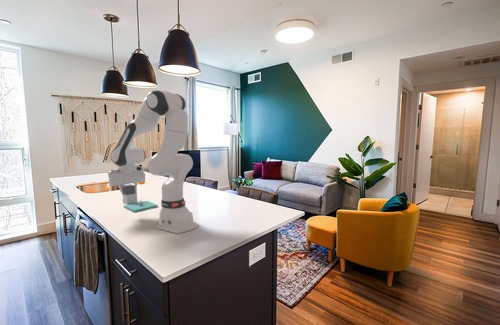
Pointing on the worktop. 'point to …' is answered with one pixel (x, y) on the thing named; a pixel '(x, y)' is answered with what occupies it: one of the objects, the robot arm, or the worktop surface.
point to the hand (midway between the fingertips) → (128, 190)
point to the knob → (128, 189)
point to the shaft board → (140, 206)
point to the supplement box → (130, 198)
